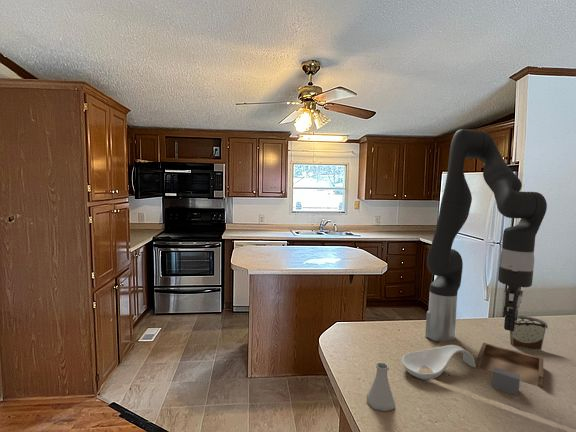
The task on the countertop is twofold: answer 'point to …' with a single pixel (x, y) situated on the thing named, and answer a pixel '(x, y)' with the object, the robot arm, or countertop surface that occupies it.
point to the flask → (381, 390)
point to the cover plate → (505, 381)
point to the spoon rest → (434, 360)
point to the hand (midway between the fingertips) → (510, 324)
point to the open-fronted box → (511, 363)
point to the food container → (528, 332)
